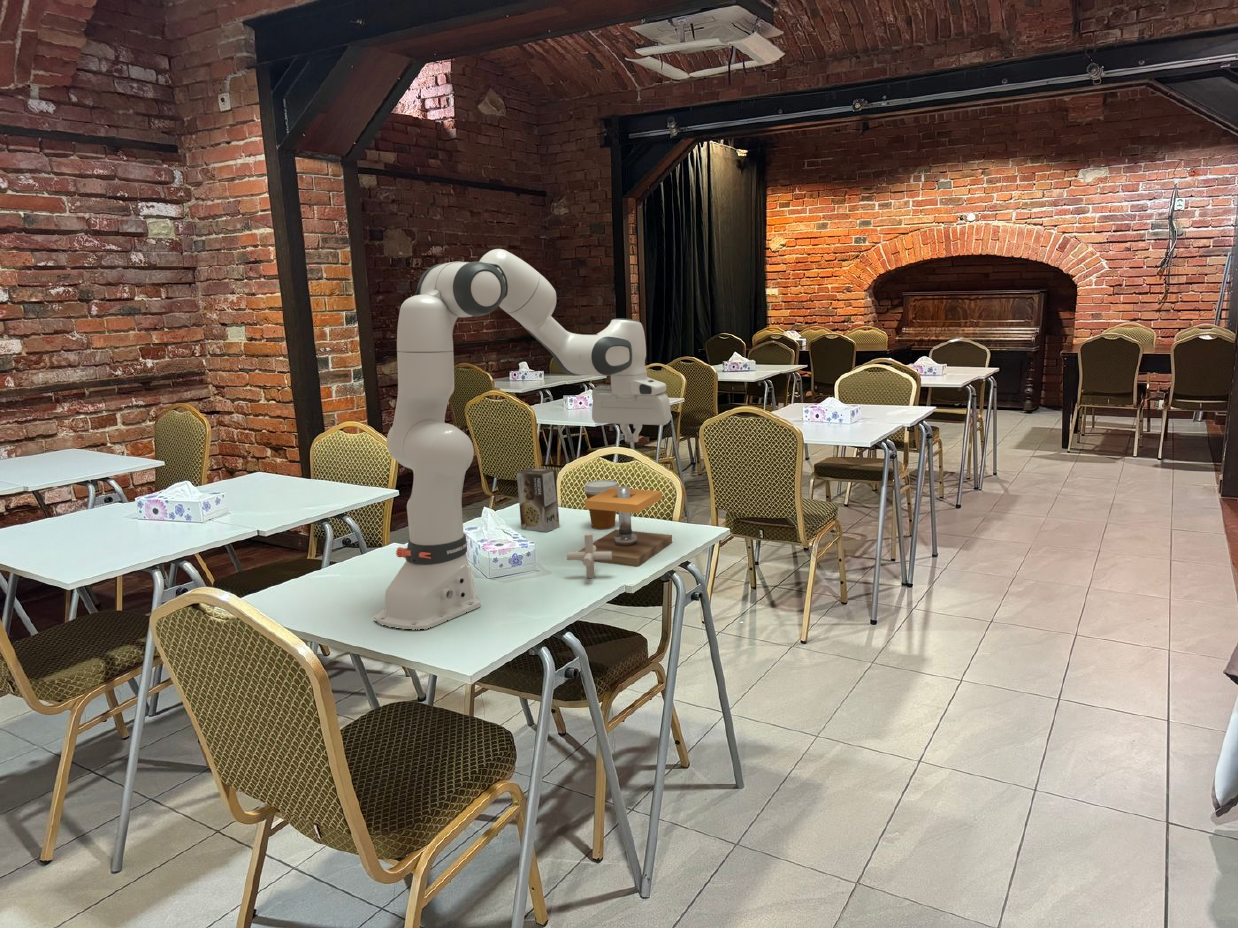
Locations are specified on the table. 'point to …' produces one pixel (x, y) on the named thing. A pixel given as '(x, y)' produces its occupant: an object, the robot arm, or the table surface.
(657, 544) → the walnut base board
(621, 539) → the metal pipe
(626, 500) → the orange collar
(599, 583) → the table surface
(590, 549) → the pipe connector
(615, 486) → the disposable coffee cup
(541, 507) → the grey-brown upright rectangular box
